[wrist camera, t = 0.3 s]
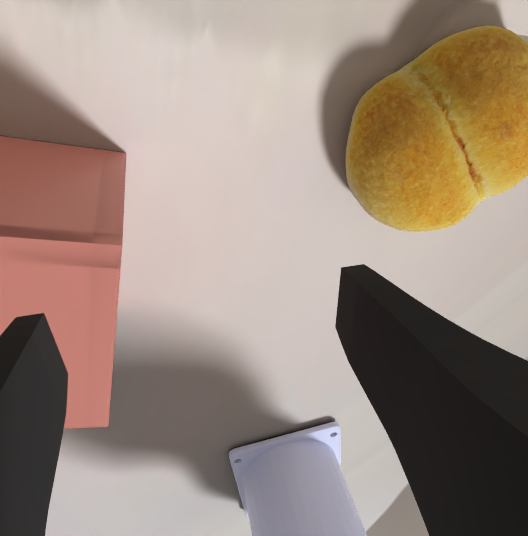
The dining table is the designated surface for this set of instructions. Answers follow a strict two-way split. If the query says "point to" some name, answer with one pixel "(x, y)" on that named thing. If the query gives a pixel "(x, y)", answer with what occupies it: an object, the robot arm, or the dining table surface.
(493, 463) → the robot arm
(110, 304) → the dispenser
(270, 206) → the dining table surface
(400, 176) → the bread roll
